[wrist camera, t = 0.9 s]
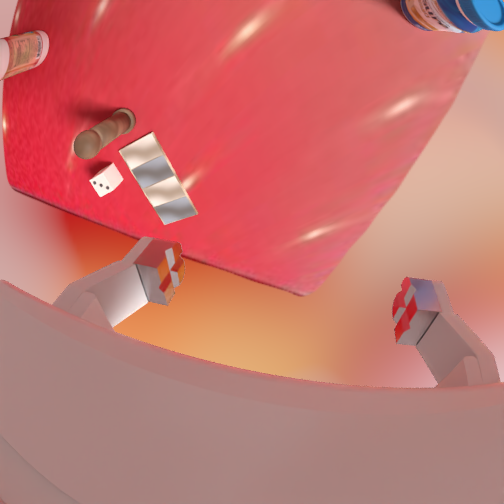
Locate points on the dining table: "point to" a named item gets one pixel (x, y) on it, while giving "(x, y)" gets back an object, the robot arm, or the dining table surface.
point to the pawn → (104, 133)
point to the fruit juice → (22, 52)
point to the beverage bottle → (455, 15)
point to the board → (158, 179)
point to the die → (106, 180)
